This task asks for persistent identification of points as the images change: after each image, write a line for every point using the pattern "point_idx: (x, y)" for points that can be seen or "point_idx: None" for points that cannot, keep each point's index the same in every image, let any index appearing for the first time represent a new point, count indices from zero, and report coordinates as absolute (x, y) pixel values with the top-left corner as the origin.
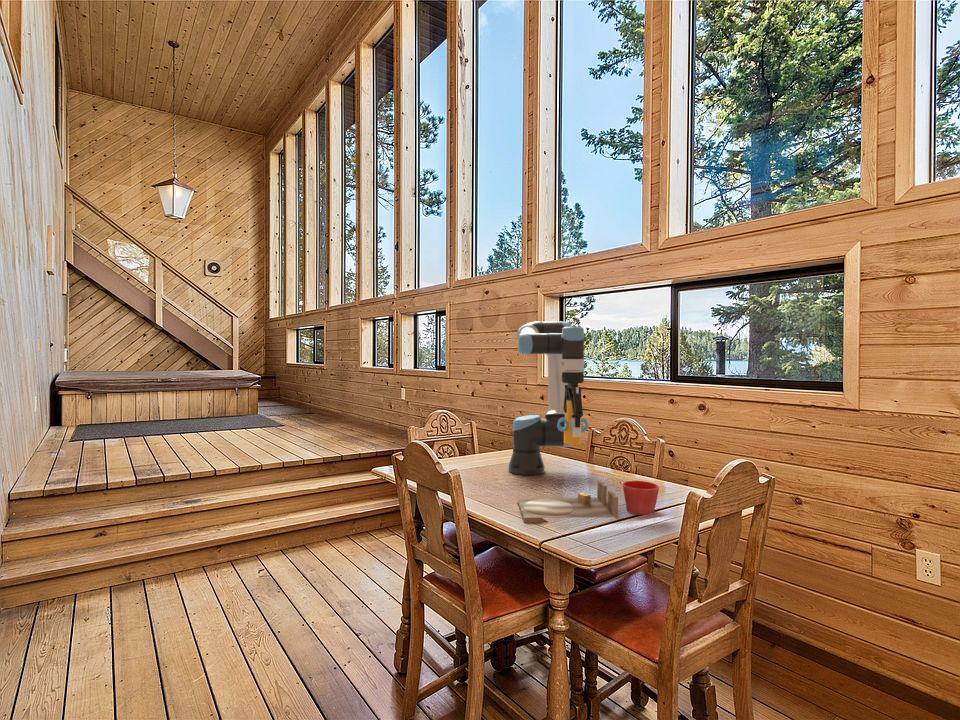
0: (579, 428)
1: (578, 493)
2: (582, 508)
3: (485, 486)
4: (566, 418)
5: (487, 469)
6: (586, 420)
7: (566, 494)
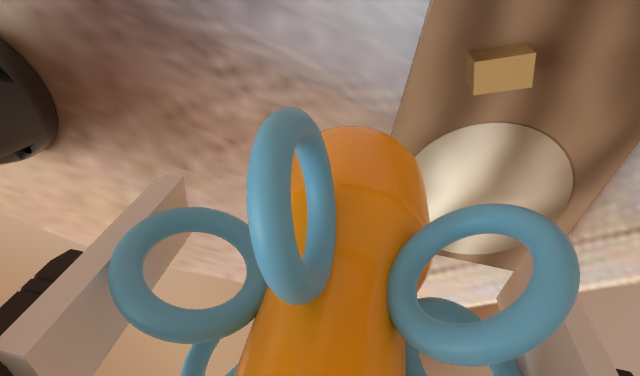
0: (582, 342)
1: (480, 93)
2: (552, 98)
3: (202, 250)
4: (112, 331)
5: (16, 199)
6: (281, 180)
7: (305, 57)
